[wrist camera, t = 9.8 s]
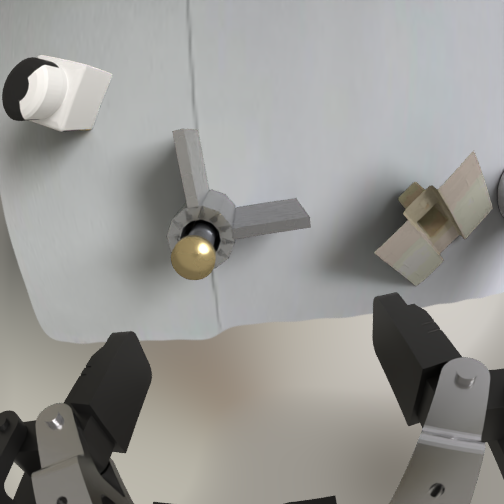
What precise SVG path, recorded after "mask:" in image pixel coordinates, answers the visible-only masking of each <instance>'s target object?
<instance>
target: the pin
mask: <svg viewBox="0 0 504 504" xmlns="http://www.w3.org/2000/svg"><path fill="white" fill-rule="evenodd" d="M217 231H218V230H217V228H216V227H215V226H214V225H213V224H212V223H210V222H208V221H205V220H202V219H200V220H196V222H195V224H194V226H193V228H192V229H191V231H190V233H189V235H188V236H186V237H184V238H182V239H180V240H179V241H178V242H177V244H176V245H175V247H174V249H173V251H172V254H171V262H172V265H173V268H174V269H175V271H176V272H177V273H178V274H179V275H181V276H182V277H184V278H186V279H189V280H199V279H203V278H205V277H206V276H208V275H209V274H210V273H211V272H212V270H213V268H214V265H215V261H216V252H215V249H214V247H213V245H214V241H215V238H216V235H217Z"/></svg>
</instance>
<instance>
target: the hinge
mask: <svg viewBox="0 0 504 504" xmlns="http://www.w3.org/2000/svg"><path fill="white" fill-rule="evenodd" d="M172 132H173V137H174V143H175V148H176V153H177V158H178V163H179V168H180V173H181V178H182V183H183V188H184V193H185V198H186V203H185V205H184V206H183V207H182V208H181V209H180V211H179V212H178V213H177V214H176V215H175V216H174V218H173V219H172V220H171V224H170V227H169V231H168V234H167V239H168V243H169V247H170V251H171V253H172V251H173V249H174V247H175V245H176V244H177V242H178V241H179V240H180V239H182V238H184V237H186V236H188V235H189V233H190V231H191V229H192V228H193V226H194V224H195V220H200V219H202V220H205V221H208V222H210V223H212V224H213V225H214V226H215V227H216V228H217V230H218V231H217V235H216V238H215V241H214V245H213V247H214V249H215V252H216V261H215V265H214V268H217V267H218V266H219V265H220V264H222V263H223V262H224V261H226V260H227V259H228V258H229V256H230V254H231V251H232V248H233V246H234V243H235V239H239V238H245V237H251V236H258V235H264V234H271V233H277V232H284V231H290V230H297V229H303V228H310V227H311V226H310V217H309V215H308V214H307V212H306V211H305V210H304V208H303V207H302V205H301V204H300V203H299V201H298V200H297V199H296V198H295V199H288V200H281V201H274V202H268V203H261V204H255V205H249V206H243V207H236V208H235V204H234V203H233V202H232V201H231V200H230V199H229V198H228V196H227V195H226V194H224V193H221V192H218V191H215V190H213V189H212V190H209V185H208V180H207V175H206V169H205V164H204V159H203V153H202V148H201V143H200V137H199V132H198V130H197V129H180V130H175V131H172ZM214 268H213V269H214Z"/></svg>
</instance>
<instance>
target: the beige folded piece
mask: <svg viewBox="0 0 504 504" xmlns="http://www.w3.org/2000/svg"><path fill="white" fill-rule="evenodd" d="M482 175H483V174H482V171H481V168H480V165H479V163H478V160H477V158H476V155H475V153H474V152H472V153H471V154H470V155H469V156H468V157H467V158H466V159H465V161H464V162H463V163H462V164H461V165H460V167H459V168H457V170H456V171H455V173H453V174H452V175H451V176H450V177H449V178H448V180H446V181H445V184H444V185H442V186H441V187H440V188H439V189H435V187H433V186H429V187H428V188H427V189H426V190H424V189H423V188H422V187H421V186H420V185H419V184H418V183H417V182H414V183H412V184H411V185H410V186H409V187H408V188H407V189H406V190H405V191H404V193H403V194H402V195H401V196H400V197H399V198H398V201H399V202H400V203H401V204H402V205H403V207H404V208H405V209H406V210H405V211H404V213H403V215H404V216H405V217H406V218H407V219H408V220H407V221H406V222H405V224H403V226H402V227H400V228H399V229H398V230H397V232H395V233H394V234H393V235H392V236H391V238H389V239H388V240H387V241H386V242H385V243H384V244H383V245H382V246H381V247H379V248H378V249H377V250H376V251H375V252H374V254H376V255H377V256H380V259H382V260H383V261H385V262H387V264H389V265H390V266H391V267H392V268H393V267H394V269H395V270H396V271H398V272H399V273H400V274H401V275H403V276H404V277H405V278H407V279H408V280H409V281H410V282H411V283H413V284H414V285H415V286H417V285H418V284H420V283H421V282H422V281H424V280H425V278H427V277H428V276H429V275H430V274H431V273H432V272H433V271H434V270H435V269H436V268H437V267H438V266H439V265H440V264H441V263H442V262H443V261H444V259H443V258H442V257H441V256H440V253H441V252H442V251H443V250H444V249H445V248H446V247H447V246H448V245H449V244H450V243H452V241H453V240H455V239H456V238H457V237H458V236H459V235H461V236H462V237H463V238H464V239H466V238H467V237H468V236H469V235H470V234H471V233H472V231H473V230H474V229H475V228H476V227H477V226H478V225H479V224H480V223H481V221H482V220H484V218H485V217H486V216H487V214H489V213H490V211H491V210H492V209H493V208H492V202H491V201H490V197H489V193H488V191H487V186H486V183H485V179H484V177H483V176H482Z"/></svg>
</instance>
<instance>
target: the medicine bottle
mask: <svg viewBox="0 0 504 504" xmlns="http://www.w3.org/2000/svg"><path fill="white" fill-rule="evenodd" d="M111 79H112V74H111V73H109V72H106V71H103V70H100V69H98V68H95V67H92V66H89V65H86V64H82V63H78V62H74V61H69V60H65V59H60V58H55V57H50V56H45V55H39V56H38V57H37V58H33V57H32V58H27V59H25V60H23V61H21V62H20V63H19V64H17V65H16V66H15V67H14V68H13V70H12V71H11V72H10V74H9V75H8V77H7V79H6V82H5V84H4V88H3V94H2V100H3V106H4V109H5V111H6V113H7V115H8V116H9V117H10V118H11V119H13V120H16V121H25V120H29V121H32V122H35V123H38V124H41V125H43V126H46V127H49V128H52V129H55V130H58V131H61V132H63V131H78V130H91V129H92V128H93V125H94V123H95V120H96V117H97V114H98V112H99V109H100V106H101V104H102V101H103V98H104V96H105V93H106V91H107V88H108V86H109V84H110V81H111Z"/></svg>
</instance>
